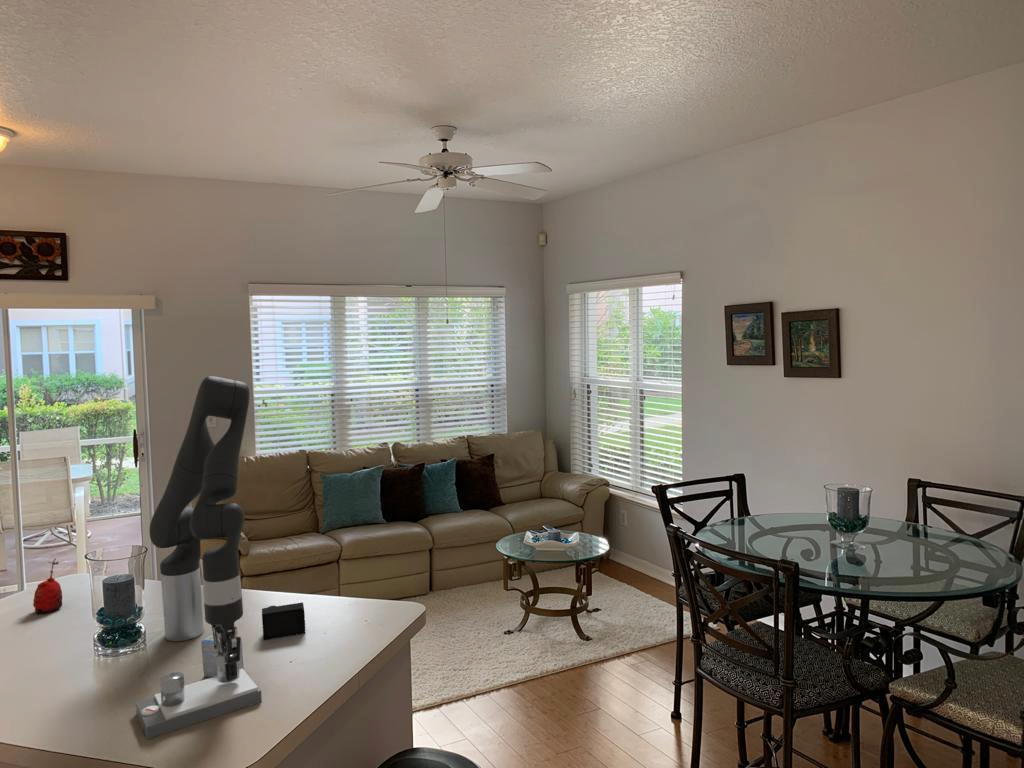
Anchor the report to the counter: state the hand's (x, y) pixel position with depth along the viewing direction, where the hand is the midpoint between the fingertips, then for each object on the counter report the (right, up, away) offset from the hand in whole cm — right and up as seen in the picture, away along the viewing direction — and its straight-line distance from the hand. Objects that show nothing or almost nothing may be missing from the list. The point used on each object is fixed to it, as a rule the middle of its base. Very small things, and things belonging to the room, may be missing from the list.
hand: (228, 674), depth 155 cm
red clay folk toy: (-73, -3, +55) cm, 91 cm away
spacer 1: (-9, -3, -6) cm, 11 cm away
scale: (-5, -6, -3) cm, 8 cm away
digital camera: (+2, -3, +33) cm, 33 cm away
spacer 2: (0, -1, 0) cm, 1 cm away
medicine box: (-5, -5, +11) cm, 13 cm away
